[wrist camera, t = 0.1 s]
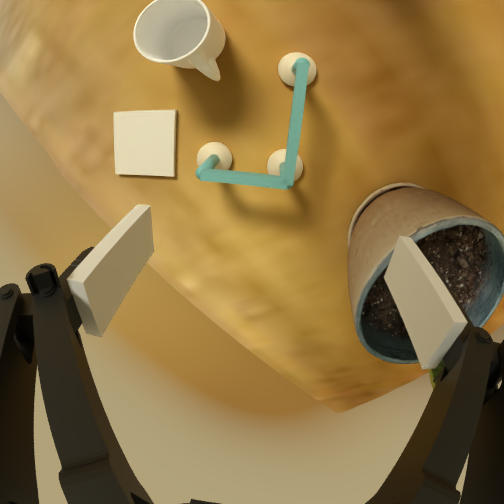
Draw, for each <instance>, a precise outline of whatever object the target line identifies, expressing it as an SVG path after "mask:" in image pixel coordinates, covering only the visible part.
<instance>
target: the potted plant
mask: <svg viewBox="0 0 504 504" xmlns="http://www.w3.org/2000/svg"><path fill="white" fill-rule="evenodd" d="M399 236H404V237H410V238H411V239H412V240H413V241H414V242H415V244H416V245H417V246H418V248H419V249H420V251H421V252H422V253H423V255H424V256H425V257H426V259H427V260H428V262H429V263H430V264H431V266H432V267H433V269H434V270H435V272H436V273H437V274H438V276H439V277H440V279H441V280H442V282H443V283H444V285H445V286H446V287H447V288H449V289H450V290H451V291H452V292H453V293H454V294H455V296H456V297H457V299H458V301H459V302H460V304H461V305H462V308H463V309H464V310H465V312H466V313H467V315H468V317H469V318H470V320H471V322H472V324H473V325H474V327H475V326H476V327H481V328H482V327H483V325H484V324H485V323H486V322H487V321H488V320H489V318H490V317H491V315H492V314H493V312H494V310H495V309H496V307H497V306H498V304H499V303H500V301H501V298H502V296H503V294H504V235H503V234H502V232H501V231H500V230H499V229H498V228H497V227H496V226H495V225H494V224H492V223H491V222H490V221H488V220H487V219H485V218H483V217H482V216H480V215H479V214H478V213H476V212H474V211H473V210H471V209H470V208H468V207H466V206H464V205H463V204H461V203H459V202H457V201H455V200H453V199H452V198H449V197H447V196H445V195H443V194H440V193H437V192H434V191H431V190H427V189H425V188H423V187H421V186H419V185H416V184H414V183H409V182H401V183H393V184H389V185H387V186H384V187H382V188H379V189H378V190H376V191H375V192H373V193H372V194H370V195H369V196H368V197H367V198H366V199H365V200H364V202H363V203H362V204H361V205H360V206H359V207H358V209H357V210H356V212H355V214H354V216H353V218H352V221H351V224H350V228H349V231H348V249H349V250H348V288H349V296H350V302H351V308H352V314H353V318H354V324H355V328H356V333H357V335H358V338H359V340H360V342H361V343H362V345H363V346H364V347H365V349H366V350H367V351H368V352H369V353H371V354H372V355H373V356H376V357H378V358H380V359H382V360H383V361H387V362H391V363H399V364H412V363H420V362H419V360H418V357H417V354H416V352H415V349H414V346H413V344H412V341H411V339H410V336H409V334H408V331H407V329H406V326H405V324H404V322H403V319H402V317H401V315H400V312H399V310H398V308H397V305H396V303H395V301H394V299H393V296H392V294H391V292H390V290H389V288H388V285H387V283H386V281H385V279H384V276H385V273H386V271H387V268H388V266H389V263H390V260H391V257H392V255H393V252H394V249H395V246H396V244H397V241H398V238H399ZM444 366H445V364H444V361H443V359H442V360H441V362H440V363H439V364H438V366H437V367H436V368H434V369H428V371H429V375H430V380H431V384H432V387H433V390H434V387H435V385H436V382H437V380H436V381H435V382H432V381H433V380H434V379H435V377H436V376H437V375H438V374H439V372H440V371H441V370H442V369H443V367H444Z"/></svg>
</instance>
